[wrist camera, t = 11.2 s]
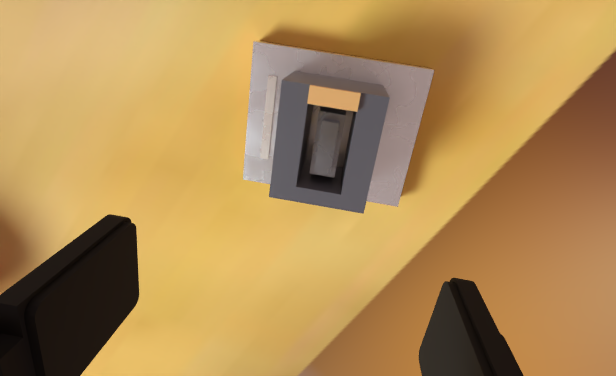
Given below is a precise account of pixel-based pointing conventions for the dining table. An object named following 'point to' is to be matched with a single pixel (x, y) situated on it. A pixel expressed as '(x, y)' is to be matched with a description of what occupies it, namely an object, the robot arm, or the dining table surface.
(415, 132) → the post
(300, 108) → the gray rectangular sleeve
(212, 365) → the dining table surface
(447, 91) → the dining table surface
